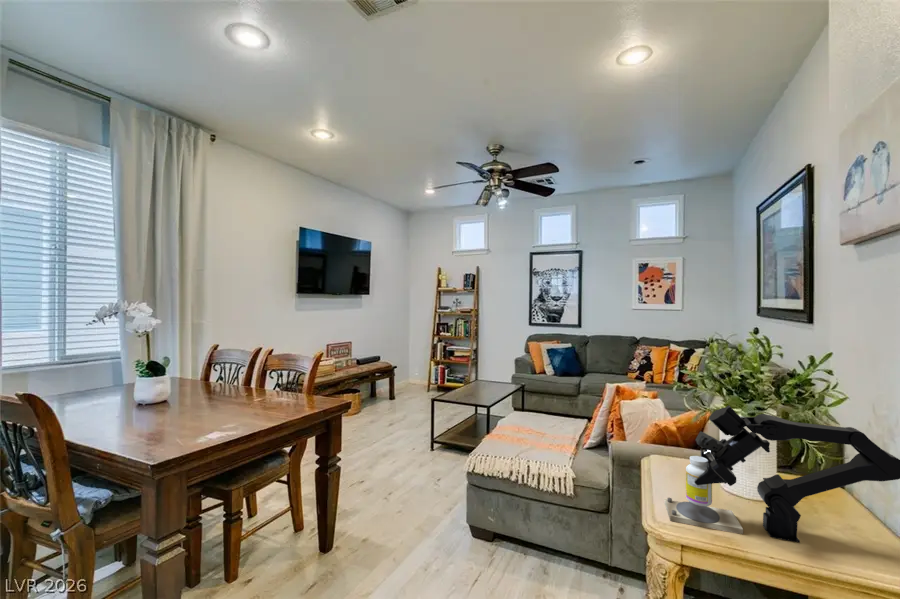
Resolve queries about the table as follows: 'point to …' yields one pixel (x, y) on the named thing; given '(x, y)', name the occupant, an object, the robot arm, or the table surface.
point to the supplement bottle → (694, 492)
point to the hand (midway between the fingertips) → (693, 478)
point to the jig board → (702, 516)
